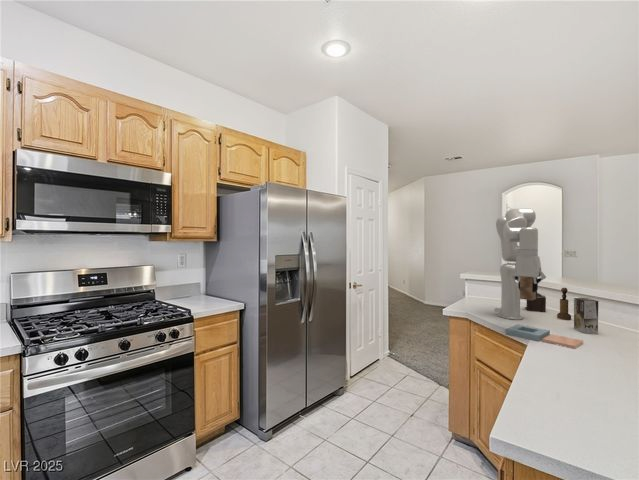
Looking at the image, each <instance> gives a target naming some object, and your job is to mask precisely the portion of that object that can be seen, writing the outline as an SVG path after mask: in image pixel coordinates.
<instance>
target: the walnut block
mask: <svg viewBox="0 0 639 480" xmlns="http://www.w3.org/2000/svg"><path fill="white" fill-rule="evenodd" d="M533 284H534V282H533V278H532V277H523V276H520V300H525V301H527V300H534V299H536V292H533Z"/></svg>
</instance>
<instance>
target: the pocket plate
mask: <svg viewBox="0 0 639 480" xmlns="http://www.w3.org/2000/svg"><path fill="white" fill-rule="evenodd" d="M550 331H551V330H550V329H546V328H545V329H543V328H540V327H535V326H529V325H523V324H518V323H516V324H514V325H512V326H508V327H507V328H505V335H509V336H512V337H513V336H514V337H518V338H523V339H525V340H527V339H528V340H531V341H535V340H536V342H541V341H542V339H543V338H545V337H547V336H549V335H551V333H550Z"/></svg>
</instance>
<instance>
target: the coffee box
mask: <svg viewBox="0 0 639 480" xmlns="http://www.w3.org/2000/svg"><path fill="white" fill-rule="evenodd" d="M599 302H600V301H599V300H595V299H592V298H588V297H573V329H574V330H576V331H578V332H581V333H583V334H590V335H591V334H593V335H598V334H599Z"/></svg>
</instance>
